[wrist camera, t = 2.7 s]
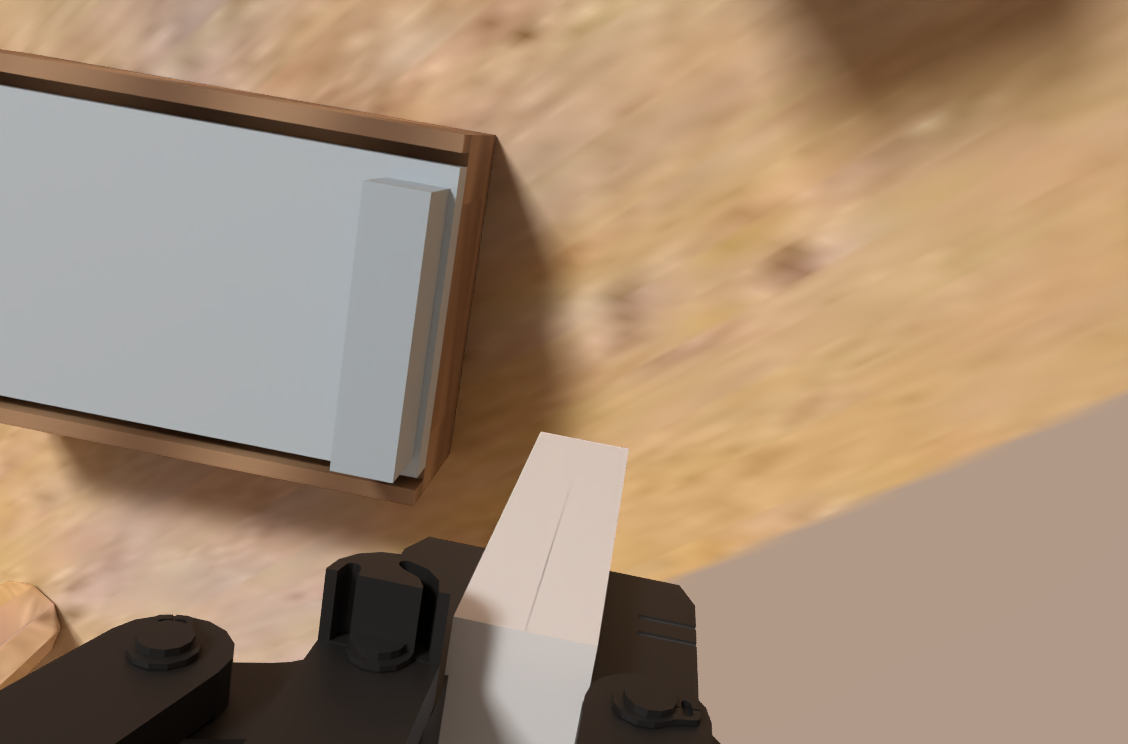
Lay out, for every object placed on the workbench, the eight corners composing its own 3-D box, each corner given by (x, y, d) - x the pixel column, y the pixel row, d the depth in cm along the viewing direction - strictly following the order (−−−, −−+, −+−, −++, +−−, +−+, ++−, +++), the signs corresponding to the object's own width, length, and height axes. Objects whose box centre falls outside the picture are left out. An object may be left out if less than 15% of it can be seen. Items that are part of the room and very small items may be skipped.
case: (496, 135, 31) (464, 134, 27) (449, 453, 34) (413, 506, 29) (26, 53, 32) (-86, 37, 28) (17, 368, 35) (-87, 405, 30)
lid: (467, 166, 28) (442, 170, 25) (425, 467, 30) (397, 504, 27) (-61, 72, 29) (-149, 64, 26) (-64, 370, 31) (-144, 396, 28)
